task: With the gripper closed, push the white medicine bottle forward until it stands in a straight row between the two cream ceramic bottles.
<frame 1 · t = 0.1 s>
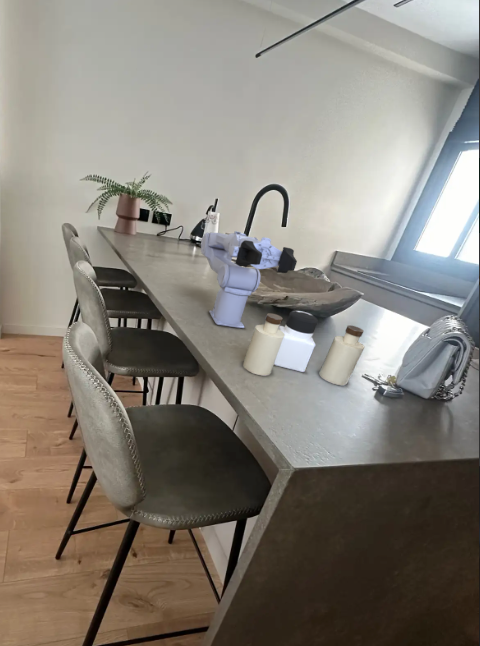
hand: (276, 262, 77), 22 cm above the countertop, tool horizontal, fingers open, 7 cm apart
cream bottle far: (333, 378, 82), on the countertop
cream bottle near: (256, 368, 80), on the countertop
medicine bottle: (286, 362, 85), on the countertop
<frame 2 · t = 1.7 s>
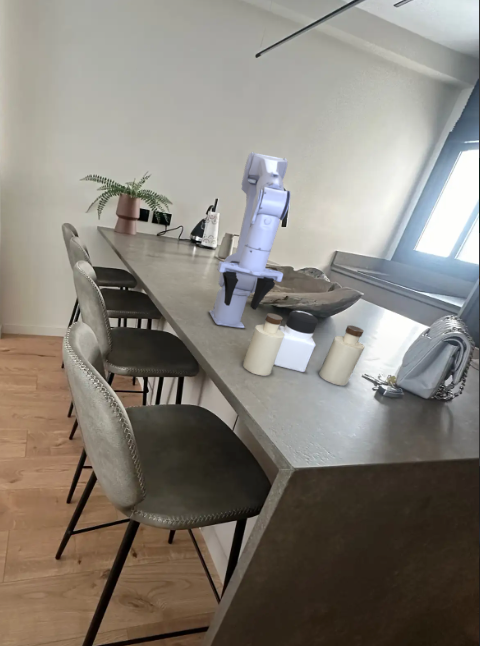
hand: (239, 306, 86), 9 cm above the countertop, tool pointing down, fingers open, 6 cm apart
nothing on the countertop moved.
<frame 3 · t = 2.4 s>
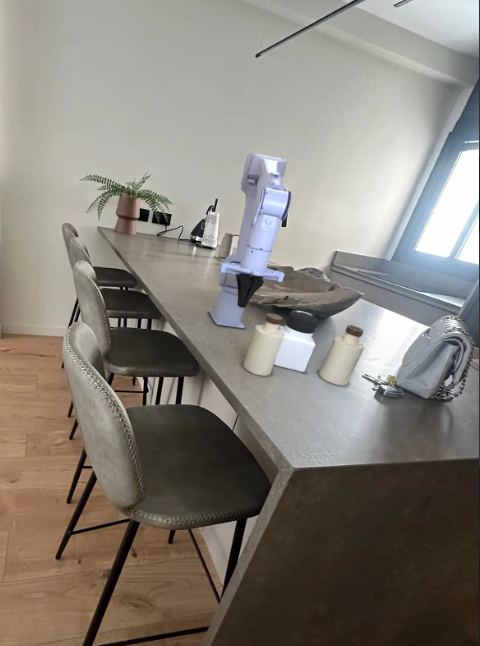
hand: (241, 306, 86), 9 cm above the countertop, tool pointing down, fingers closed
nothing on the countertop moved.
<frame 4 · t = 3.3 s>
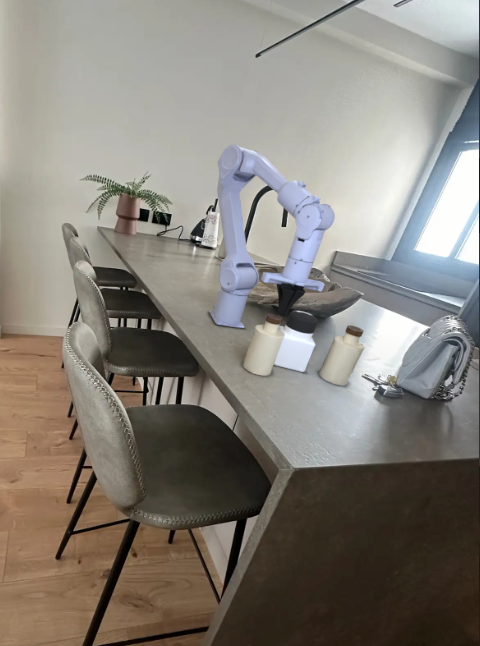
hand: (281, 314, 90), 8 cm above the countertop, tool pointing down, fingers closed
nothing on the countertop moved.
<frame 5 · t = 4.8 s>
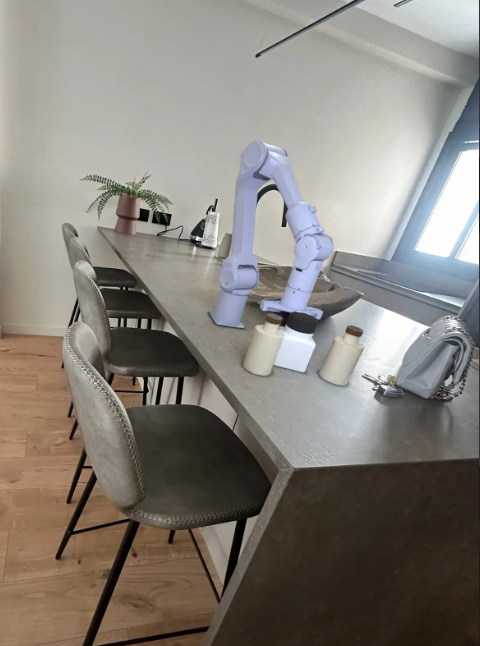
hand: (279, 341, 90), 2 cm above the countertop, tool pointing down, fingers closed
medicine bottle: (286, 363, 85), on the countertop, touching gripper
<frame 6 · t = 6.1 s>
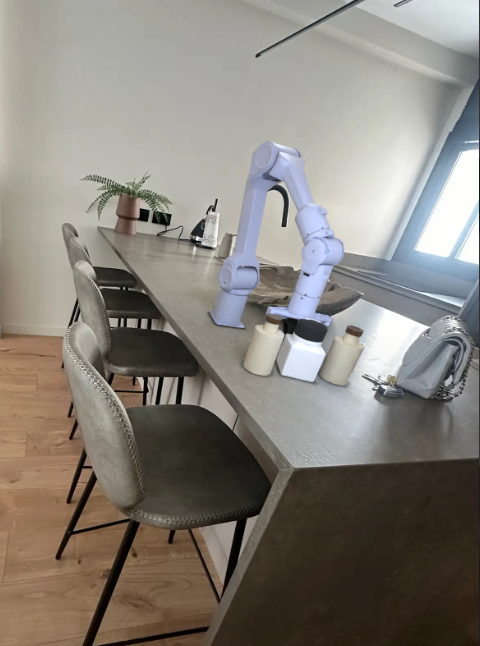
hand: (286, 348, 86), 2 cm above the countertop, tool pointing down, fingers closed
medicine bottle: (293, 372, 82), on the countertop, touching gripper
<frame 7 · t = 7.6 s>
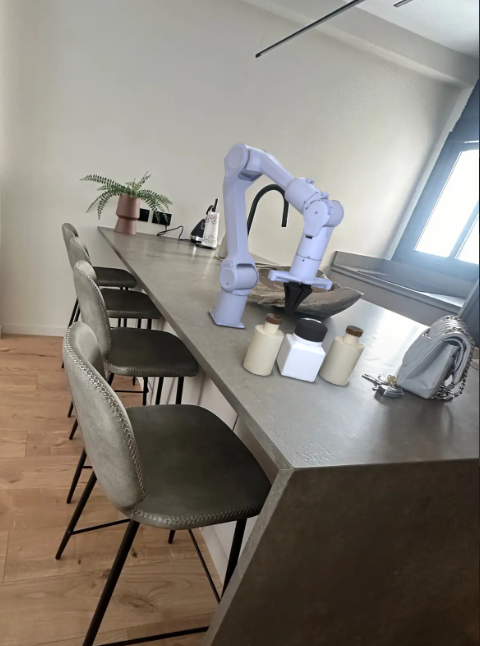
hand: (287, 313, 88), 9 cm above the countertop, tool pointing down, fingers closed
medicine bottle: (293, 372, 82), on the countertop
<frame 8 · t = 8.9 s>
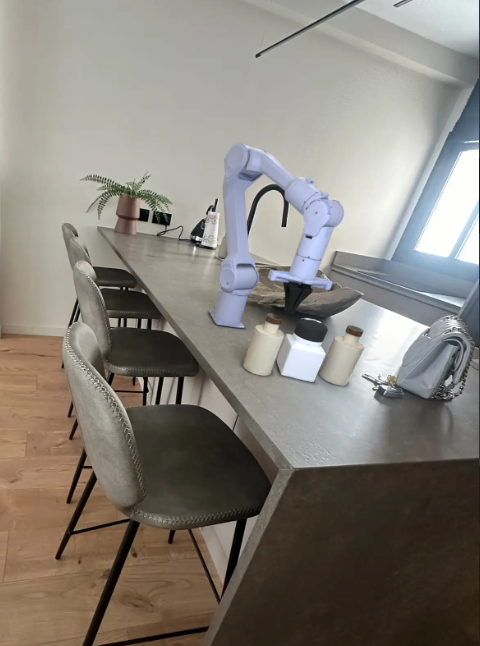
hand: (287, 313, 88), 9 cm above the countertop, tool pointing down, fingers closed
nothing on the countertop moved.
at the end: medicine bottle 0.9 cm from the target spot, on the countertop; medicine bottle tilted 0°; medicine bottle moved 4.3 cm from its start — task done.
